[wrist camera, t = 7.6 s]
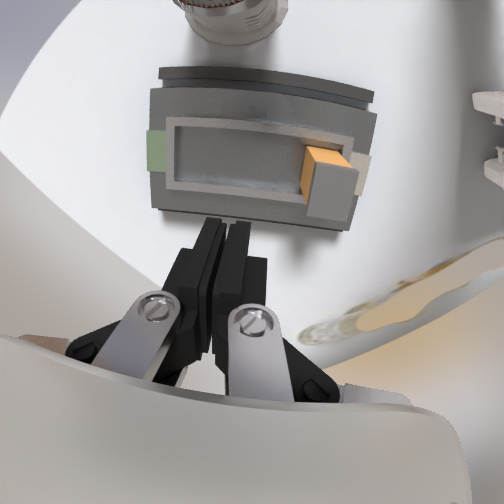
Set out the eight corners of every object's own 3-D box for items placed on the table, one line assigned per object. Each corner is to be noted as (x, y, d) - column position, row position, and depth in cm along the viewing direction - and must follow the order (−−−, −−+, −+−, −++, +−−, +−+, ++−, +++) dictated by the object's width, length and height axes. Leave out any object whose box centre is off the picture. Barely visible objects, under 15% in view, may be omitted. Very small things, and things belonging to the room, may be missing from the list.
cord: (163, 68, 22) (159, 67, 21) (370, 91, 22) (374, 91, 21) (162, 79, 23) (158, 79, 22) (368, 102, 23) (372, 103, 22)
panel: (160, 87, 23) (143, 89, 20) (368, 111, 23) (383, 115, 20) (159, 196, 30) (146, 212, 26) (344, 218, 30) (352, 236, 26)
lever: (305, 144, 23) (316, 164, 17) (338, 150, 23) (359, 172, 17) (298, 184, 25) (306, 215, 19) (330, 189, 25) (346, 221, 19)
